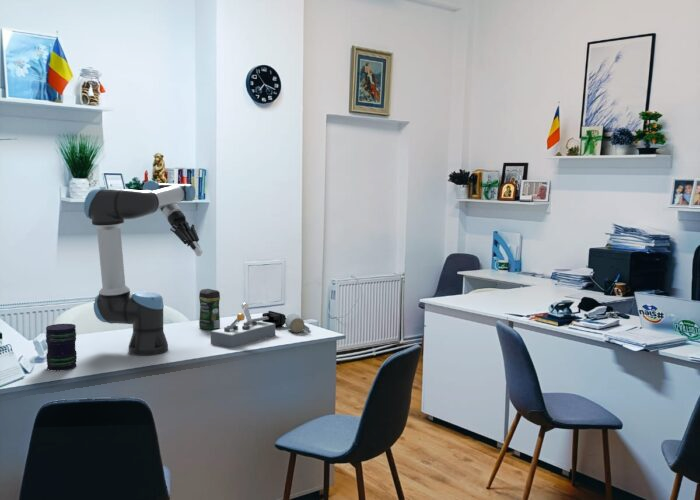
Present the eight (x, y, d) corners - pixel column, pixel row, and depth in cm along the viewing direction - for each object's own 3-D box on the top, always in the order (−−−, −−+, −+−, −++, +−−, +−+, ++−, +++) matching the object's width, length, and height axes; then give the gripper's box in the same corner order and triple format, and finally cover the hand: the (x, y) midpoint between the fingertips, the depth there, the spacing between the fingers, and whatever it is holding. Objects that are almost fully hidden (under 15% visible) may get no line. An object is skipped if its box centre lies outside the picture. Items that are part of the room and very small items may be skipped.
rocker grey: (251, 321, 279) (251, 318, 279) (258, 320, 283) (257, 317, 283) (262, 320, 275) (261, 317, 276) (268, 318, 279) (268, 315, 279)
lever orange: (225, 326, 263) (238, 312, 258) (231, 324, 266) (244, 311, 261) (228, 332, 262) (241, 318, 257) (234, 330, 265) (247, 317, 260)
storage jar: (49, 372, 217) (48, 330, 215) (44, 366, 225) (43, 325, 223) (79, 368, 223) (78, 327, 221) (73, 362, 231) (72, 322, 229)
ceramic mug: (290, 333, 282) (290, 317, 282) (284, 330, 290) (285, 313, 289) (312, 332, 287) (312, 316, 286) (306, 328, 294) (306, 313, 294)
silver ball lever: (245, 326, 273) (238, 304, 274) (251, 325, 276) (244, 303, 277) (250, 324, 271) (243, 302, 273) (256, 322, 274) (249, 301, 276)
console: (210, 343, 263) (210, 327, 262) (255, 331, 286) (255, 316, 285) (231, 347, 256) (231, 331, 255) (275, 335, 279) (275, 320, 279)
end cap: (286, 326, 297) (286, 313, 297) (274, 329, 292) (274, 314, 292) (273, 323, 304) (273, 309, 304) (261, 325, 299) (261, 311, 299)
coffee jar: (196, 328, 291) (196, 288, 289) (209, 325, 297) (209, 287, 295) (209, 331, 285) (209, 291, 283) (222, 328, 291) (222, 289, 289)
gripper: (181, 220, 291) (206, 258, 284) (159, 221, 280) (184, 260, 273) (189, 209, 288) (215, 247, 280) (166, 210, 277) (193, 249, 269)
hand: (200, 254), depth 276 cm, fingers closed
